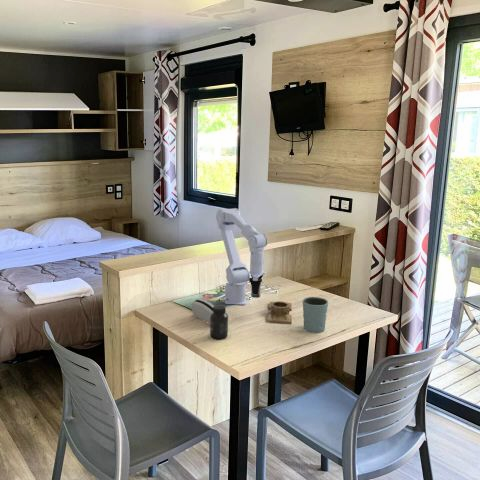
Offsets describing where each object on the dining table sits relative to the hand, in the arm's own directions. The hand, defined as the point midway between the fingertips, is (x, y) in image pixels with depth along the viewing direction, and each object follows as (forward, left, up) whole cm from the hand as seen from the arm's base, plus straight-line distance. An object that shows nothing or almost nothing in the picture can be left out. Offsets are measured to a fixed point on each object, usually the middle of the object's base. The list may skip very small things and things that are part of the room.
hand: (255, 291), depth 215 cm
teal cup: (+25, -15, -9) cm, 31 cm away
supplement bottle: (-12, -29, -9) cm, 33 cm away
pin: (0, 0, -2) cm, 2 cm away
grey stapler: (-19, -14, -10) cm, 25 cm away
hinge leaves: (+11, 0, -9) cm, 14 cm away
